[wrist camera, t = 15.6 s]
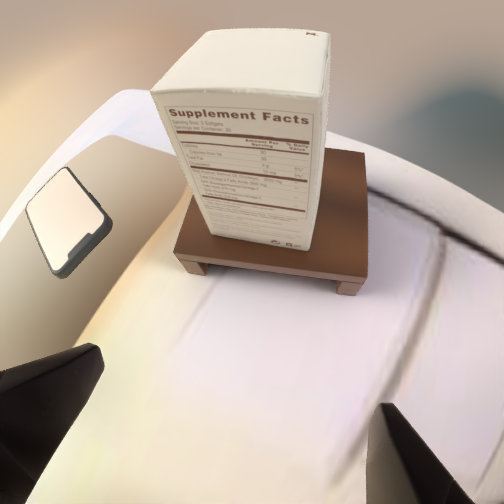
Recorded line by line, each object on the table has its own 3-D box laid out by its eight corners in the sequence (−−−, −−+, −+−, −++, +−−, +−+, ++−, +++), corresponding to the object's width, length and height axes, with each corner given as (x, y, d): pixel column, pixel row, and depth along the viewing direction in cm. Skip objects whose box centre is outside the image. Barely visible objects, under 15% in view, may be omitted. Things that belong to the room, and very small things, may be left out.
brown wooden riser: (355, 296, 22) (367, 277, 19) (188, 273, 25) (172, 252, 21) (357, 180, 27) (364, 152, 24) (221, 167, 30) (214, 140, 26)
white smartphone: (29, 213, 32) (63, 286, 26) (22, 207, 30) (53, 280, 24) (71, 170, 34) (119, 226, 28) (66, 162, 33) (112, 218, 27)
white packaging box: (236, 164, 25) (207, 28, 13) (323, 176, 23) (335, 30, 12) (208, 237, 22) (143, 90, 10) (309, 256, 20) (327, 93, 9)
